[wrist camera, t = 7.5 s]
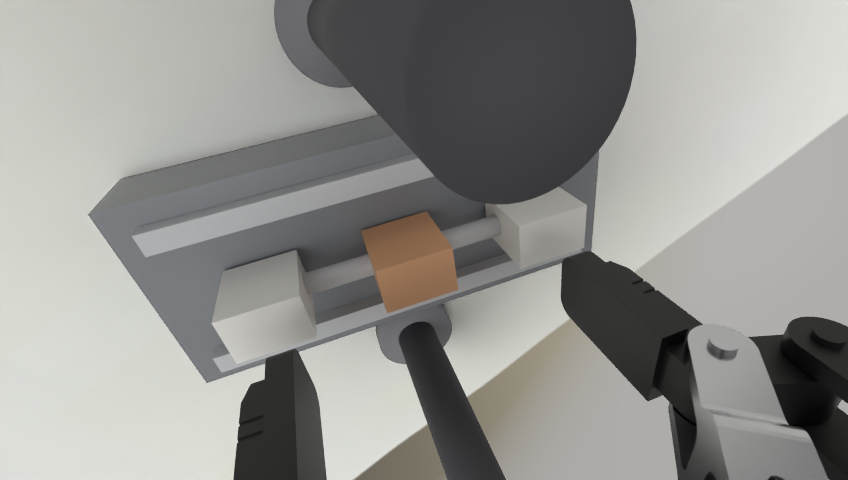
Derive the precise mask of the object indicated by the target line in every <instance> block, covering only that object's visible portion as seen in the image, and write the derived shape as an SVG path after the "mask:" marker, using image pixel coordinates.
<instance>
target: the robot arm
mask: <svg viewBox="0 0 848 480" xmlns="http://www.w3.org/2000/svg"><path fill="white" fill-rule="evenodd" d="M561 301H562V304H563V307H564V309H565V311H566V313H567V314H568V316H569V317H570V318H571V319H572V320H573V321H574V322H575V323H576V324H577V326H578V327H579V328H580V329H581V330H582V331H583V332H584V333H585V334H586V335H587V336H588V337H589V338H590V340H591V341H592V342H593V343H594V344H595V345H596V346H597V347H598V348H599V349H600V350H601V351H602V353H603V354H604V355H605V356H606V357H607V358H608V359H609V360H610V361H611V362H612V363H613V364H614V365H615V367H616V368H618V370H619V371H620V372H621V373H622V374H623V375H624V376H625V377H626V378H627V379H628V381H629V382H630V383H631V384H632V385H633V386H634V387H635V388H636V389H637V390H638V391H639V392H640V394H641V395H643V397H644V398H645V399H646V400H647V401H650V400H652V399H655V398H657V397H659V396H661V395H664V397H666V399H667V400H668V401H669V402H670V403H669V407H668V408H669V418H670V425H671V431H672V438H673V446H674V453H675V460H676V467H677V475H678V480H828V479H829V480H848V415H847V414H846V413H844V412H843V411H842V410H840V409H839V408H838V407H837V406H838V405H839V403H840V402H841V400H844V401H845V402H846V403H848V327H847V326H845V325H843V324H840V323H838V322H835V321H831V320H828V319H824V318H818V317H800V318H797V319H794V320H792V321H791V322H790V323H789V325H788V327H787V329H786V331H785V333H784V335H772V336H758V337H747V336H745V335H744V334H742V333H741V332H739V331H736V330H734V329H732V328H729V327H726V326H721V325H714V324H705V325H703V324H702V323H700V322H699V321H697V320H696V319H695V318H694V317H692V316H691V315H689V314H688V313H687V312H686V311H684V310H683V309H682V308H680V307H679V306H678V305H676V304H675V303H674V302H672V301H671V300H670V299H668V298H667V297H666V296H665V295H663V294H662V293H660V292H659V291H658V290H657V291H655V289H654V287H652V286H651V285H650V284H649V283H647V282H646V281H645V282H644V281H643V279H642V278H641V277H639V276H638V275H637V274H635V273H634V272H633V271H631V270H630V269H629V268H626V267H624V266H621V265H619V264H616V263H614V262H611V261H609V262H604V261H603V260H602V259H600V258H599V257H598V256H597V255H595V254H594V253H593V252H591V251H585V252H582V253H579V254H576V255H573V256H570V257H567V258H565V259H564V260H563V262H562V279H561ZM239 424H240V427H239V429H238V443H237V449H236V459H235V470H234V480H327V479H326V469H325V459H324V448H323V438H322V428H321V418H320V408H319V401H318V397H317V393H316V389H315V387H314V384H313V382H312V380H311V378H310V376H309V374H308V371H307V369H306V367H305V365H304V363H303V361H302V359H301V357H300V355H299V353H298V351H297V350H296V349H295V348H294V349H291V350H288V351H285V352H282V353H279V354H276V355H273V356H270V357H267V358H266V362H265V380H262V381H259V382H256V383H253V384H251V385H250V387H249V389H248V391H247V393H246V395H245V397H244V399H243V401H242V403H241V408H240V418H239Z"/></svg>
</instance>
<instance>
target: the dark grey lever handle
mask: <svg viewBox="0 0 848 480" xmlns="http://www.w3.org/2000/svg"><path fill="white" fill-rule="evenodd" d="M451 331H452V324H451V320H450V318H449V316H448V314H447V313H446V311H445V309H444V307H443V305H442V304H438V305H435V306H433V307H430V308H427V309H424V310H421V311H418V312H415V313H412V314H409V315H406V316H403V317H400V318H397V319H394V320H391V321H388V322H385V323H382V324H379V325H376V334H377V338H378V341H379V344H380V348H381V351H382V353H383V354H384V355H385V356H386V357H387V358H388V359H389V360H391V361H393V362H396V363H401V364H407V367H408V370H409V372H410V375H411V378H412V381H413V384H414V387H415V389H416V392H417V395H418V398H419V401H420V403H421V406H422V409H423V412H424V415H425V418H426V420H427V423H428V426H429V428H430V431H431V434H432V437H433V440H434V443H435V446H436V448H437V451H438V454H439V456H440V459H441V463H442V465H443V468H444V471H445V474H446V477H447V479H448V480H506V479H505V477H504V475H503V473H502V470H501V468H500V466H499V464H498V462H497V460H496V458H495V456H494V454H493V452H492V449H491V447H490V445H489V443H488V441H487V439H486V437H485V435H484V433H483V431H482V429H481V426H480V424H479V422H478V421H477V418H476V416H475V414H474V412H473V410H472V407H471V405H470V403H469V401H468V399H467V397H466V395H465V393H464V391H463V389H462V387H461V384H460V382H459V380H458V378H457V376H456V374H455V372H454V370H453V368H452V366H451V363H450V361H449V359H448V357H447V355H446V353H445V351H444V349H443V347H444V346H445V344H446V343H447V341H448V340H449V338H450V335H451Z"/></svg>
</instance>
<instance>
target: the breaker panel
mask: <svg viewBox="0 0 848 480" xmlns="http://www.w3.org/2000/svg"><path fill="white" fill-rule="evenodd" d="M598 157H599V150H598V151H597V153H596V154H595V155H594V156H593V158H592V159H591V160H590V161H589V162H588V163H587V164H586V165H585V166H584V167H583V168H582V169H581V170H580V171H579V172H577V173H576V174H575V175H574V176H573V177H571V178H570V179H569V180H567V181H566V182H565V183H563V184H562V185H560V186H559V187H560V188H562V189H563V190H565V191H566V192H568V193H569V194H571V195H572V196H574V197H575V198H577V199H578V200H580V201H581V202H583V203H585V204H586V205H587V212H586V227H585V242H584V248H582V249H579V250H576V251H573V252H570V253H567V254H564V255H561V256H558V257H555V258H552V259H549V260H546V261H543V262H540V263H537V264H534V265H531V266H528V267H525V268H522V269H520V268H519V266H518V265H517V264H516V263H515V262H514V261H513V260H512V259H511V258H510V257H509V256H508V254H507V253H506V252H505V251H504V250H503V249H502V248H501V247H500V246H499V245H498V243H497V242H496V241H495V240H494V239H493V238H489V239H486V240H483V241H480V242H476V243H473V244H470V245H467V246H464V247H461V248H457V249H454V250H453V255H454V262H455V268H456V275H457V282H458V289H459V290H456V291H453V292H450V293H447V294H444V295H441V296H438V297H435V298H432V299H429V300H426V301H423V302H420V303H417V304H414V305H411V306H408V307H405V308H402V309H399V310H397V311H394V312H391V313H388V314H387V311H386V308H385V305H384V303H383V300H382V297H381V294H380V291H379V288H378V285H377V282H376V280H375V277H374V275H372V276H369V277H366V278H363V279H359V280H356V281H353V282H350V283H347V284H344V285H341V286H337V287H334V288H331V289H328V290H325V291H322V292H318V293H315V294H313V303H314V312H315V320H316V329H317V337H316V338H313V339H310V340H307V341H304V342H301V343H298V344H295V345H292V346H289V347H286V348H283V349H280V350H277V351H274V352H271V353H268V354H265V355H262V356H259V357H256V358H253V359H250V360H247V361H244V362H241V363H238V364H236V362H235V361H234V359H233V357H232V356H231V354H230V353H229V351H228V349H227V348H226V346H225V344H224V343H223V341H222V340H221V338H220V336H219V335H218V333H217V332H216V330H215V328H214V327H213V325H212V319H213V314H214V310H215V305H216V300H217V296H218V291H219V286H220V282H221V277H222V272H223V271H226V270H229V269H233V268H236V267H240V266H243V265H246V264H250V263H253V262H256V261H260V260H263V259H267V258H270V257H273V256H277V255H280V254H284V253H287V252H290V251H294V250H297V252H298V255H299V257H300V260H301V262H302V265H303V267H304V270H305V272H306V273H307V272H310V271H313V270H316V269H320V268H323V267H326V266H330V265H333V264H336V263H339V262H343V261H346V260H349V259H352V258H356V257H359V256H362V255H365V254H367V251H366V247H365V244H364V240H363V237H362V233H361V230H365V229H368V228H371V227H375V226H378V225H382V224H385V223H388V222H392V221H395V220H398V219H402V218H405V217H409V216H412V215H415V214H419V213H422V212H426V211H427V213H428V214H429V215H430V217H431V218H432V220H433V221H434V222H435V224H436V225H437V227H438V228H439V229H440V231H444V230H447V229H450V228H453V227H457V226H460V225H463V224H467V223H470V222H473V221H476V220H480V219H483V218H486V209H485V203H481V202H477V201H473V200H470V199H467V198H465V197H463V196H461V195H458V194H457V193H455V192H453V191H452V190H450V189H449V188H447V187H446V186H445V185H444V184H442V183H441V182H440V181H439V180H438V179H437V178H436V177H435V176H434V175H433V174H432V173H431V172H430V171H429V169H428V168H427V167H426V166H425V165H424V164H423V163H422V162H421V161H420V159H419V158H418V157H417V156H416V155H415V154H414V153H413V152H412V151H411V149H410V148H409V147H408V146H407V145H406V144H405V143H404V142H403V141H402V140H401V138H400V137H399V136H398V135H397V134H396V133H395V132H394V131H393V130H392V128H391V127H390V126H389V125H388V124H387V123H386V122H385V121H384V120H383V119H382V117H381V116H380V115H377V116H373V117H369V118H365V119H361V120H357V121H353V122H348V123H344V124H340V125H336V126H332V127H328V128H324V129H320V130H316V131H312V132H308V133H304V134H300V135H296V136H292V137H288V138H284V139H280V140H276V141H272V142H268V143H264V144H260V145H256V146H252V147H248V148H244V149H240V150H236V151H232V152H228V153H224V154H220V155H216V156H212V157H208V158H204V159H199V160H195V161H191V162H187V163H183V164H179V165H175V166H171V167H167V168H163V169H159V170H155V171H151V172H147V173H143V174H139V175H135V176H131V177H127V178H123V179H120V180H119V181H118V182H117V183H116V185H115V186H114V187H113V188H112V189H111V190H110V191H109V192H108V193H107V194H106V195H105V197H104V198H103V199H102V200H101V201H100V202H99V203H98V204H97V205H96V206H95V207H94V209H93V210H92V211H91V212H90V213H89V214H88V215H89V216H90V218H91V219H92V221H93V222H94V224H95V225H96V226H97V228H98V229H99V231H100V232H101V234H102V235H103V236H104V238H105V239H106V241H107V242H108V243H109V245H110V246H111V248H112V249H113V251H114V252H115V253H116V255H117V256H118V258H119V259H120V260H121V262H122V263H123V265H124V266H125V268H126V269H127V270H128V272H129V273H130V275H131V276H132V277H133V279H134V280H135V282H136V283H137V285H138V286H139V287H140V289H141V290H142V292H143V293H144V294H145V296H146V297H147V299H148V300H149V302H150V303H151V304H152V306H153V307H154V309H155V310H156V312H157V313H158V314H159V316H160V317H161V319H162V320H163V321H164V323H165V324H166V326H167V327H168V329H169V330H170V331H171V333H172V334H173V336H174V337H175V338H176V340H177V341H178V343H179V344H180V346H181V347H182V348H183V350H184V351H185V353H186V354H187V355H188V357H189V358H190V360H191V361H192V363H193V364H194V365H195V367H196V368H197V370H198V371H199V373H200V374H201V375H202V377H203V378H204V380H205V381H206V382H207V383H208V382H211V381H214V380H217V379H220V378H223V377H226V376H229V375H232V374H235V373H238V372H241V371H243V370H246V369H249V368H252V367H255V366H258V365H261V364H264V363H265V362H266V358H267V357H270V356H273V355H276V354H279V353H282V352H285V351H288V350H291V349H294V348H295V349H296V350H297V351H298V352H300V351H303V350H306V349H308V348H311V347H314V346H317V345H320V344H323V343H326V342H329V341H332V340H335V339H338V338H341V337H344V336H347V335H350V334H353V333H356V332H359V331H362V330H365V329H368V328H371V327H373V326H376V325H379V324H382V323H385V322H388V321H391V320H394V319H397V318H400V317H403V316H406V315H409V314H412V313H415V312H418V311H421V310H424V309H427V308H430V307H433V306H435V305H438V304H441V303H444V302H447V301H450V300H453V299H456V298H459V297H462V296H465V295H468V294H471V293H474V292H477V291H480V290H483V289H486V288H489V287H492V286H495V285H498V284H500V283H503V282H506V281H509V280H512V279H515V278H518V277H521V276H524V275H527V274H530V273H533V272H536V271H539V270H542V269H545V268H548V267H551V266H554V265H557V264H560V263H562V262H563V260H564V259H565V258H567V257H570V256H573V255H576V254H579V253H582V252H585V251H591V247H592V234H593V221H594V208H595V195H596V182H597V170H598Z"/></svg>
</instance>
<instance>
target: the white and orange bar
mask: <svg viewBox="0 0 848 480" xmlns="http://www.w3.org/2000/svg"><path fill="white" fill-rule="evenodd" d="M485 209H486V218H483V219H480V220H476V221H473V222H470V223H467V224H463V225H460V226H457V227H453V228H450V229H447V230H444V231H440V229H439V228H438V227H437V225H436V224H435V222H434V221H433V220H432V218H431V217H430V215H429V214H428V213H427V211H426V212H422V213H419V214H415V215H412V216H409V217H405V218H402V219H398V220H395V221H392V222H388V223H385V224H382V225H378V226H375V227H371V228H368V229H365V230H361V233H362V237H363V240H364V244H365V247H366V251H367V254H365V255H362V256H359V257H356V258H352V259H349V260H346V261H343V262H339V263H336V264H333V265H330V266H326V267H323V268H320V269H316V270H313V271H310V272H307V273H306V272H305V270H304V267H303V265H302V262H301V260H300V257H299V255H298V252H297V250H294V251H290V252H287V253H284V254H280V255H277V256H273V257H270V258H267V259H263V260H260V261H256V262H253V263H250V264H246V265H243V266H240V267H236V268H233V269H229V270H226V271H223V272H222V277H221V282H220V286H219V291H218V296H217V300H216V305H215V310H214V314H213V319H212V325H213V327H214V328H215V330H216V332H217V333H218V335H219V336H220V338H221V340H222V341H223V343H224V344H225V346H226V348H227V349H228V351H229V353H230V354H231V356H232V357H233V359H234V361H235V362H236V364H238V363H241V362H244V361H247V360H250V359H253V358H256V357H259V356H262V355H265V354H268V353H271V352H274V351H277V350H280V349H283V348H286V347H289V346H292V345H295V344H298V343H301V342H304V341H307V340H310V339H313V338H316V337H317V329H316V320H315V312H314V303H313V294H315V293H318V292H322V291H325V290H328V289H331V288H334V287H337V286H341V285H344V284H347V283H350V282H353V281H356V280H359V279H363V278H366V277H369V276H372V275H374V277H375V280H376V282H377V285H378V288H379V291H380V294H381V297H382V300H383V303H384V305H385V308H386V311H387V314H388V313H391V312H394V311H397V310H399V309H402V308H405V307H408V306H411V305H414V304H417V303H420V302H423V301H426V300H429V299H432V298H435V297H438V296H441V295H444V294H447V293H450V292H453V291H456V290H459V289H458V282H457V275H456V268H455V262H454V255H453V250H454V249H457V248H461V247H464V246H467V245H470V244H473V243H476V242H480V241H483V240H486V239H489V238H493V239H494V240H495V241H496V242H497V243H498V245H499V246H500V247H501V248H502V249H503V250H504V251H505V252H506V253H507V254H508V256H509V257H510V258H511V259H512V260H513V261H514V262H515V263H516V264H517V265H518V266H519V268H520V269H522V268H525V267H528V266H531V265H534V264H537V263H540V262H543V261H546V260H549V259H552V258H555V257H558V256H561V255H564V254H567V253H570V252H573V251H576V250H579V249H582V248H584V242H585V227H586V212H587V205H586V204H585V203H583V202H581V201H580V200H578V199H577V198H575V197H574V196H572V195H571V194H569V193H568V192H566V191H565V190H563V189H562V188H560V187H557V188H555V189H553V190H552V191H550V192H548V193H546V194H544V195H541V196H539V197H536V198H534V199H530V200H527V201H523V202H519V203H512V204H487V203H485Z"/></svg>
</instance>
